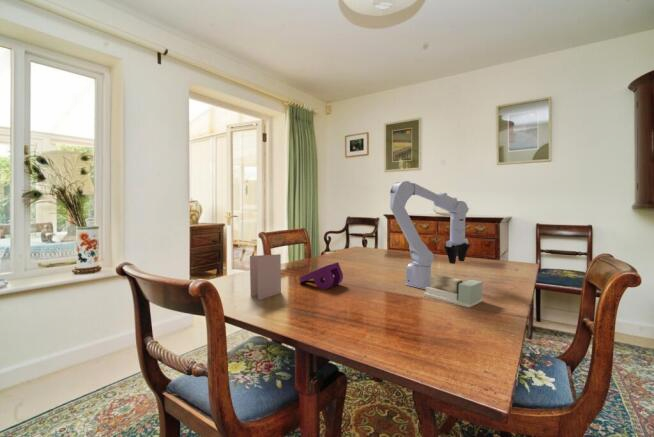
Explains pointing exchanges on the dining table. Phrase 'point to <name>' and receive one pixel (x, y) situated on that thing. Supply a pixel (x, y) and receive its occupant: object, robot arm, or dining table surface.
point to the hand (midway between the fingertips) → (456, 262)
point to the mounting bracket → (325, 276)
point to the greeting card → (265, 275)
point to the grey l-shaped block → (459, 294)
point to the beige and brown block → (445, 283)
